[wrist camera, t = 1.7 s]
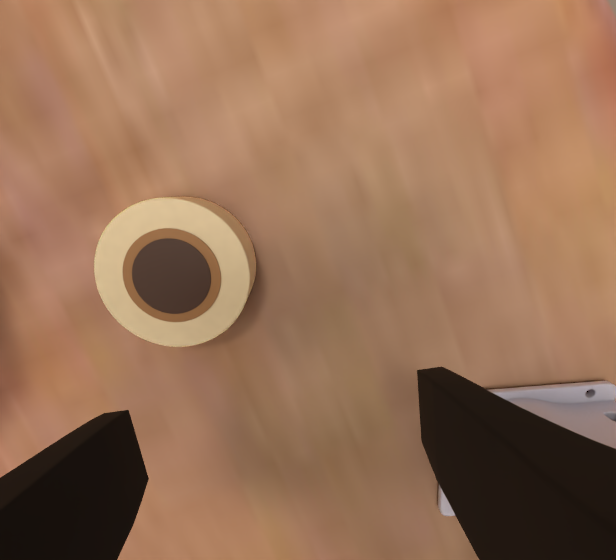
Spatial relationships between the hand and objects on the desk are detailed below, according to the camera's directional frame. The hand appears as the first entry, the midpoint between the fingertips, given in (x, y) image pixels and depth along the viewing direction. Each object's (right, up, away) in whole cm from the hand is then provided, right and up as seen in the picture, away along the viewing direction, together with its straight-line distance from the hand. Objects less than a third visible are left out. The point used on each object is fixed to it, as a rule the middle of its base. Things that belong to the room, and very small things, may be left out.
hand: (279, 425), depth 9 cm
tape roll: (-5, +4, +9) cm, 11 cm away
